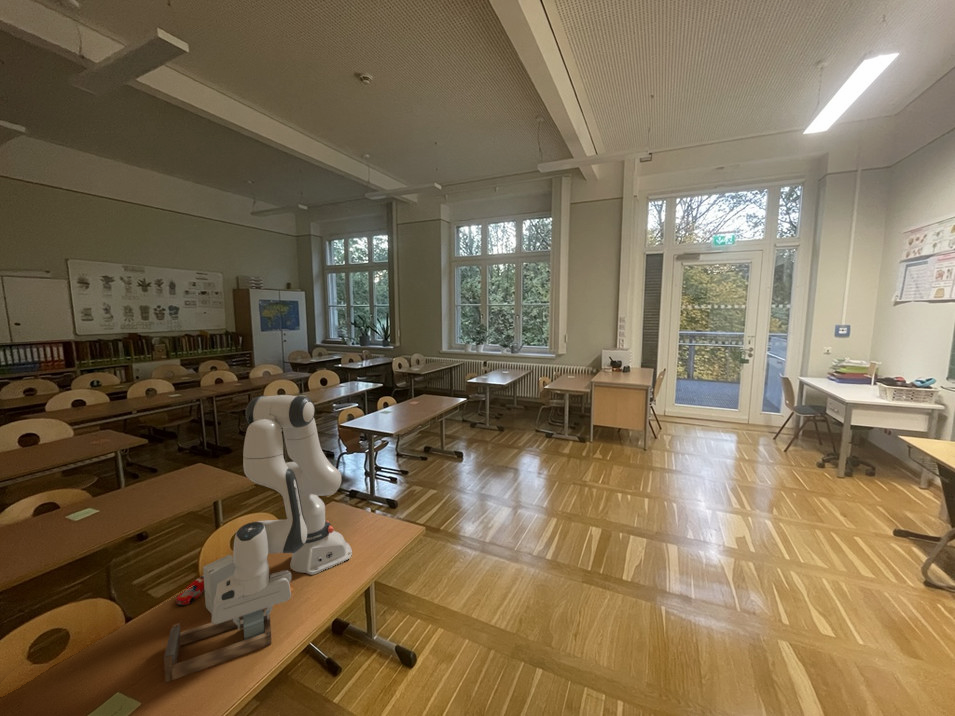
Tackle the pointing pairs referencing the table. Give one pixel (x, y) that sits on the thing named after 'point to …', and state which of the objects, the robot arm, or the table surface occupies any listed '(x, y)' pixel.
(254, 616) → the grey boxy piece
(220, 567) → the skincare box
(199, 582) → the race car
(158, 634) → the table surface
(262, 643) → the bay
